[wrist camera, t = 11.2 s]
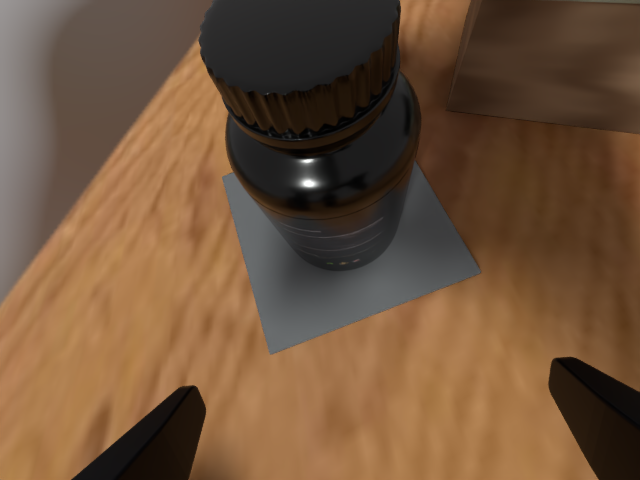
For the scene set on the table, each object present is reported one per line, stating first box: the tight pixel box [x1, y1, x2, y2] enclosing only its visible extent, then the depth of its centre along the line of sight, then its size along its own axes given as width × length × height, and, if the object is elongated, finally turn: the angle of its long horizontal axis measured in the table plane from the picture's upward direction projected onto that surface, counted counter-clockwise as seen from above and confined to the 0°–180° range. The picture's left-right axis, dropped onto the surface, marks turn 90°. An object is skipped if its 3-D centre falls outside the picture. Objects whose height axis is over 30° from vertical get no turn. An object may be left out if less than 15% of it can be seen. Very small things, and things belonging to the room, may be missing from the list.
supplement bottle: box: [198, 0, 421, 271], centre depth 12 cm, size 7×7×12 cm
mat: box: [222, 161, 481, 354], centre depth 18 cm, size 12×12×1 cm
